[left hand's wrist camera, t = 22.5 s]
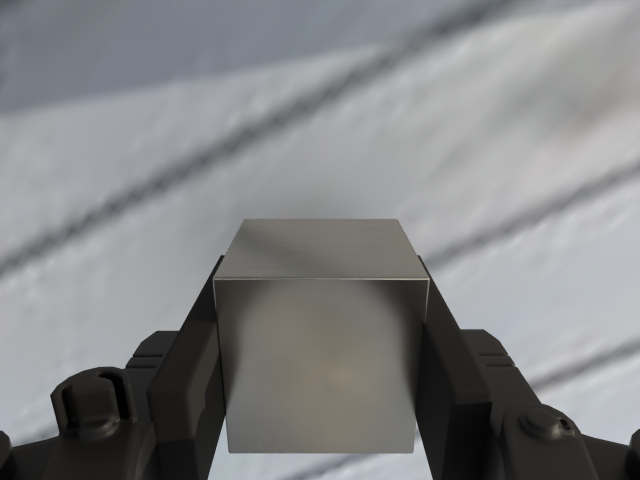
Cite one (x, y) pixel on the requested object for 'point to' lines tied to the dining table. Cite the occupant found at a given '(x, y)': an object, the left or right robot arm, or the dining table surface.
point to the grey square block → (320, 336)
